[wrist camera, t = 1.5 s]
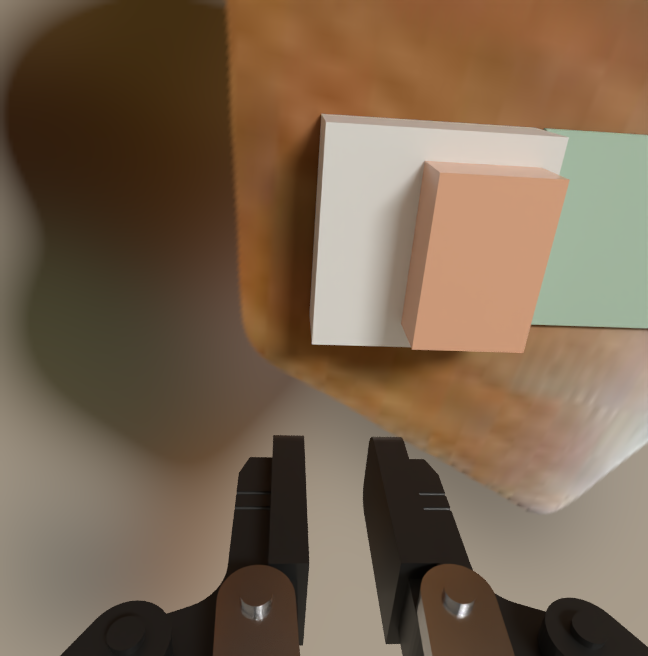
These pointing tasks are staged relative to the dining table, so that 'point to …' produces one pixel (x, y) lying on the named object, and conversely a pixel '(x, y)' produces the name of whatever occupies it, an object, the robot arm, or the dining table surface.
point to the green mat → (599, 235)
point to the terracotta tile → (479, 255)
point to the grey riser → (389, 212)
